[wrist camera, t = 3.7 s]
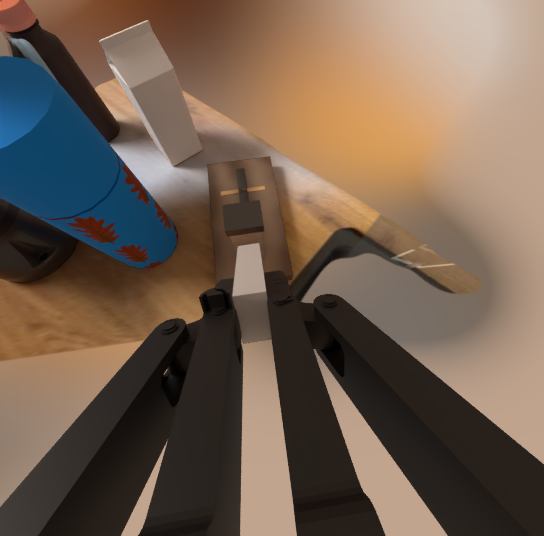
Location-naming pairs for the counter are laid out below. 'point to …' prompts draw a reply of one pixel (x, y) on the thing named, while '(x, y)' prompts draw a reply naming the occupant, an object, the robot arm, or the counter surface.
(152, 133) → the milk carton
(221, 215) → the console
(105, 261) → the counter surface
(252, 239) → the fader handle
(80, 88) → the bottle
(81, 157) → the thermos
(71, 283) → the counter surface
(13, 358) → the counter surface
